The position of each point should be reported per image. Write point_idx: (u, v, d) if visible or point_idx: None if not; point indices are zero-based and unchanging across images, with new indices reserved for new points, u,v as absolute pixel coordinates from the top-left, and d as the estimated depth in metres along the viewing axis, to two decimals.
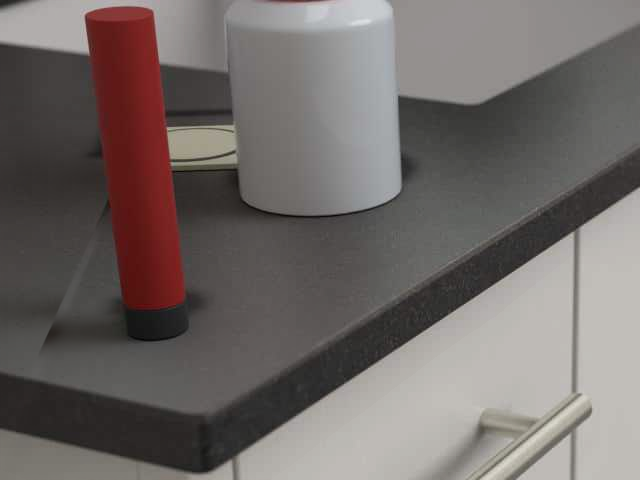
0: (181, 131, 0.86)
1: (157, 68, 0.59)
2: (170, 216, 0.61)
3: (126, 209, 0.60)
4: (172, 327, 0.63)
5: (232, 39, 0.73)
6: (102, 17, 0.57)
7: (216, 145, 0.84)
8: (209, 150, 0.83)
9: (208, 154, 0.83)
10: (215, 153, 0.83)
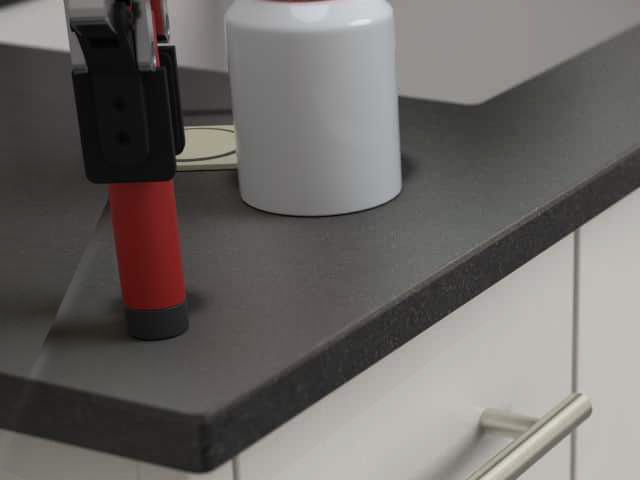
0: None
1: None
2: (170, 216, 0.61)
3: (126, 209, 0.60)
4: (172, 327, 0.63)
5: (232, 39, 0.73)
6: None
7: (216, 145, 0.84)
8: (209, 150, 0.83)
9: (208, 154, 0.83)
10: (215, 153, 0.83)
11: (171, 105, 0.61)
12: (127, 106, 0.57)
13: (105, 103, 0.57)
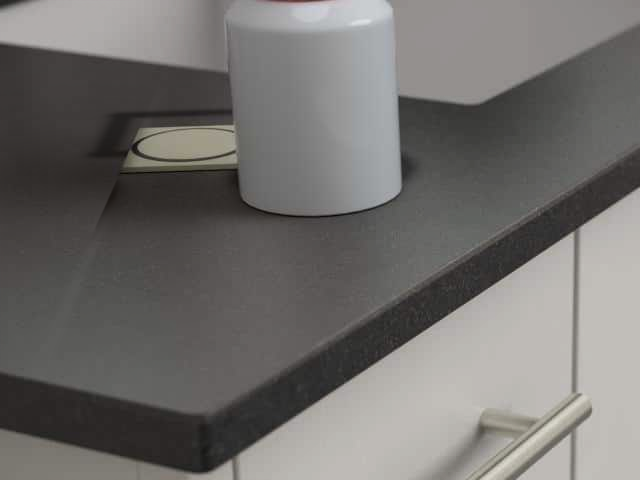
0: (181, 131, 0.86)
1: None
2: None
3: None
4: None
5: (232, 39, 0.73)
6: None
7: (216, 145, 0.84)
8: (209, 150, 0.83)
9: (208, 154, 0.83)
10: (215, 153, 0.83)
11: None
12: None
13: None
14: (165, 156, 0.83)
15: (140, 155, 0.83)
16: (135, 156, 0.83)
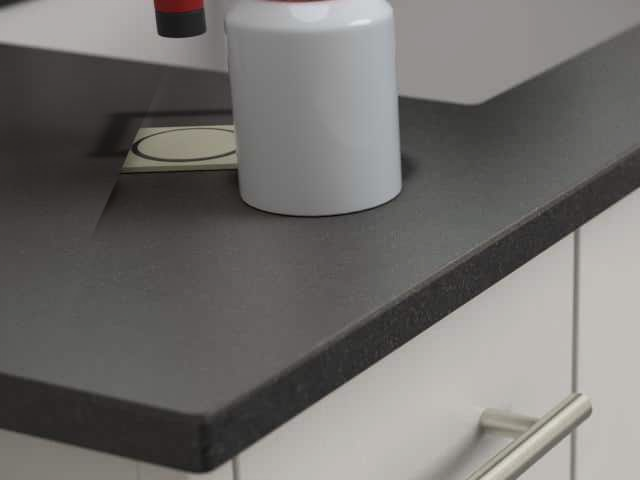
0: (181, 131, 0.86)
1: None
2: None
3: None
4: (193, 28, 0.80)
5: (232, 39, 0.73)
6: None
7: (216, 145, 0.84)
8: (209, 150, 0.83)
9: (208, 154, 0.83)
10: (215, 153, 0.83)
11: None
12: None
13: None
14: (165, 156, 0.83)
15: (140, 155, 0.83)
16: (135, 156, 0.83)
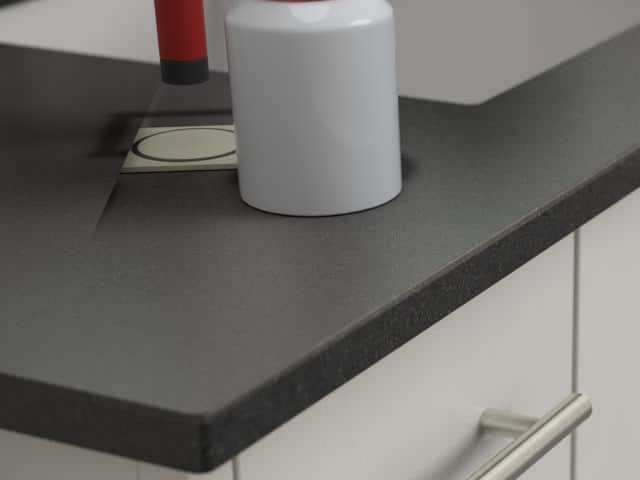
0: (181, 131, 0.86)
1: None
2: None
3: None
4: (196, 76, 0.82)
5: (232, 39, 0.73)
6: None
7: (216, 145, 0.84)
8: (209, 150, 0.83)
9: (208, 154, 0.83)
10: (215, 153, 0.83)
11: None
12: None
13: None
14: (165, 156, 0.83)
15: (140, 155, 0.83)
16: (135, 156, 0.83)
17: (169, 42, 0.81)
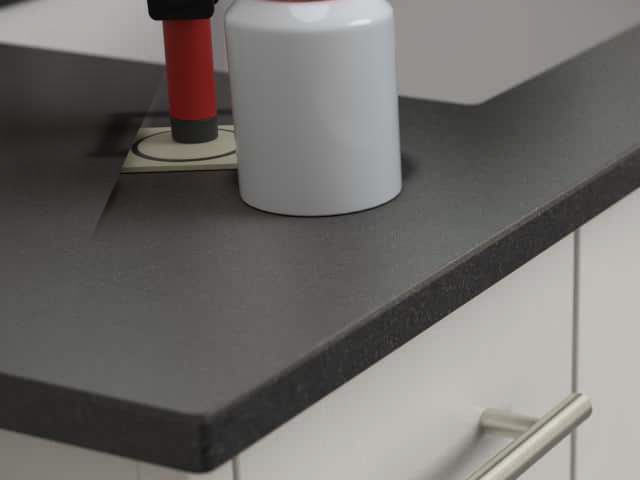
0: None
1: None
2: (208, 49, 0.83)
3: (176, 41, 0.82)
4: (206, 134, 0.84)
5: (232, 39, 0.73)
6: None
7: (216, 145, 0.84)
8: (209, 150, 0.83)
9: (208, 154, 0.83)
10: (215, 153, 0.83)
11: None
12: None
13: None
14: (165, 156, 0.83)
15: (140, 155, 0.83)
16: (135, 156, 0.83)
17: (180, 101, 0.83)
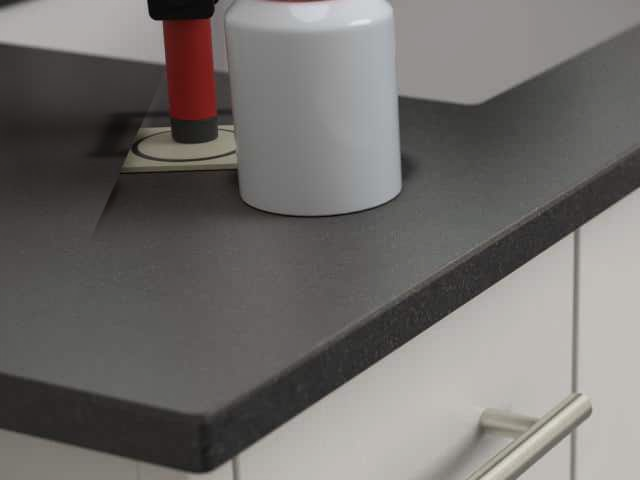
0: None
1: None
2: (208, 49, 0.83)
3: (176, 41, 0.82)
4: (206, 134, 0.84)
5: (232, 39, 0.73)
6: None
7: (216, 145, 0.84)
8: (209, 150, 0.83)
9: (208, 154, 0.83)
10: (215, 153, 0.83)
11: None
12: None
13: None
14: (165, 156, 0.83)
15: (140, 155, 0.83)
16: (135, 156, 0.83)
17: (180, 101, 0.83)
